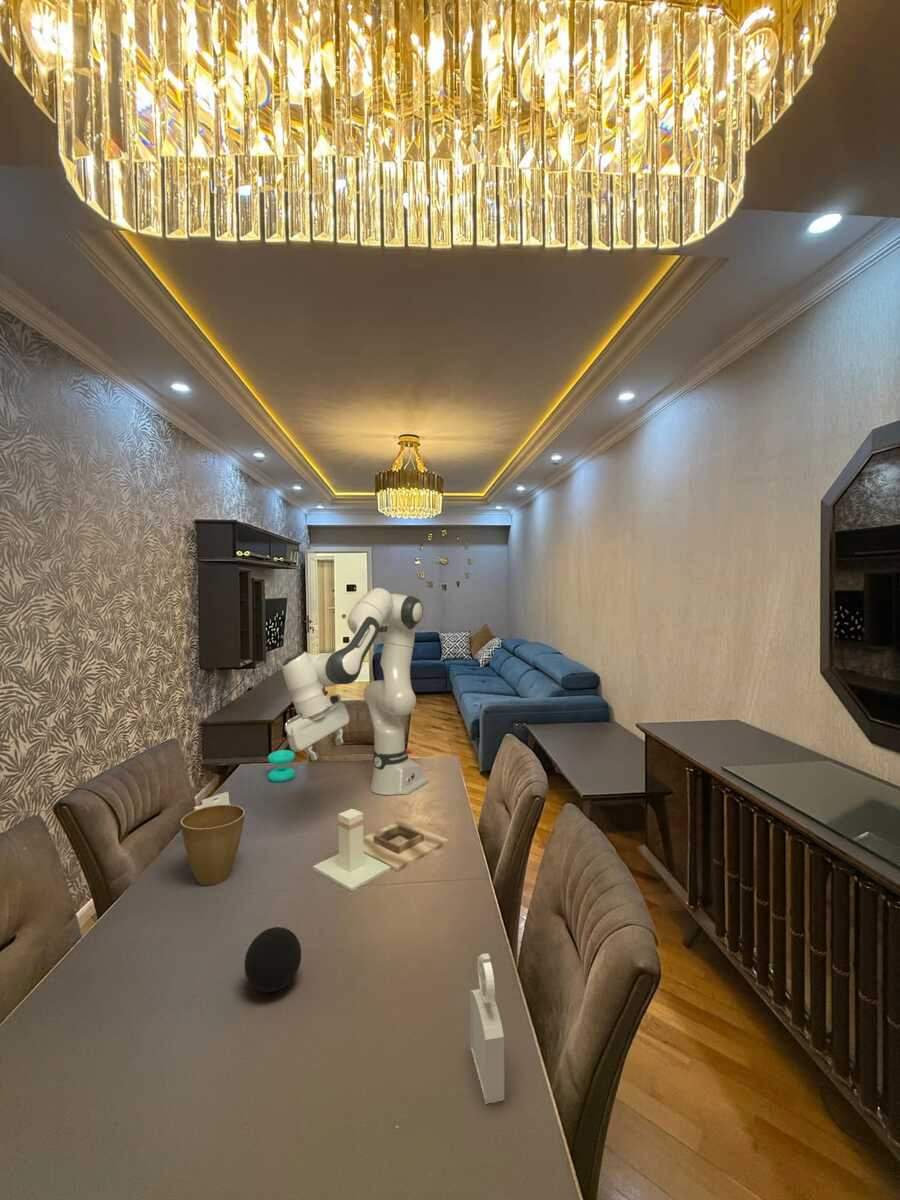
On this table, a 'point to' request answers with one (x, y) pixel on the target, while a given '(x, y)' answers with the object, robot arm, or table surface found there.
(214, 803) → the ink cartridge box
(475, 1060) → the grey block with loop
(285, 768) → the donuts
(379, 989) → the table surface
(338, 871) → the pad
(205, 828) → the plant pot
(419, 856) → the wooden square socket board
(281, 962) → the decorative ball
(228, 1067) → the table surface
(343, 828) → the banded cream pillar
